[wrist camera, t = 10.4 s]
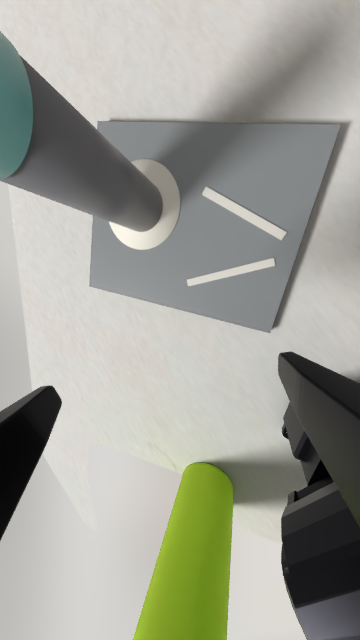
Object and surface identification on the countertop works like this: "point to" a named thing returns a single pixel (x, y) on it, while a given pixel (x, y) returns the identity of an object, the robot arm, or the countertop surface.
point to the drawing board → (214, 215)
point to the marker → (66, 151)
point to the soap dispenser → (192, 562)
